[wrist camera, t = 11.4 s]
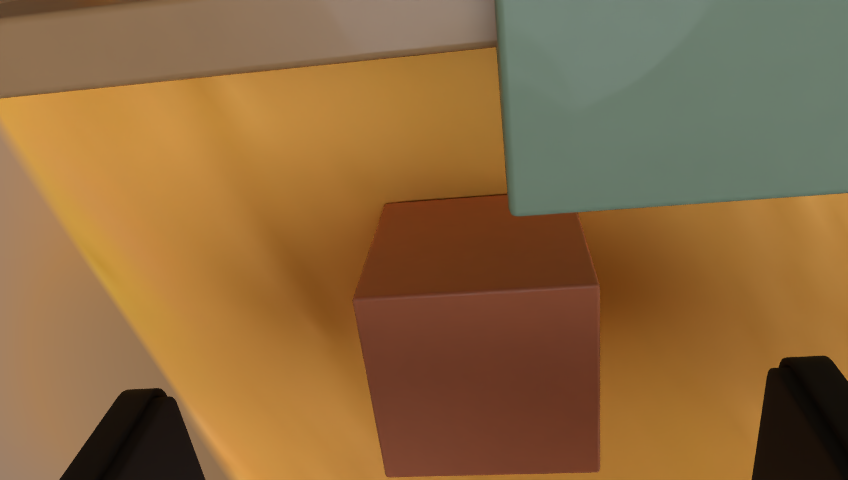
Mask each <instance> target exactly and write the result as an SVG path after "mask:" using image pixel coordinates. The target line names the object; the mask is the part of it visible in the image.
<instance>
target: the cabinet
mask: <svg viewBox="0 0 848 480" xmlns="http://www.w3.org/2000/svg"><path fill="white" fill-rule="evenodd" d="M494 1H495V16H496V31H497V46H498V47H496V51H497V64H498V77H499V90H500V103H501V116H502V129H503V142H504V155H505V169H506V181H507V195H508V208H509V211H510V213H511V215H513V216H532V215H546V214H560V213H574V212H588V211H602V210H616V209H630V208H644V207H658V206H672V205H686V204H700V203H714V202H728V201H742V200H756V199H770V198H784V197H798V196H812V195H826V194H840V193H848V0H494Z"/></svg>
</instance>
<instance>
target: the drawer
mask: <svg viewBox="0 0 848 480" xmlns="http://www.w3.org/2000/svg"><path fill="white" fill-rule="evenodd" d="M493 47H498V46H497V31H496V16H495V1H494V0H0V98H8V97H18V96H28V95H37V94H47V93H57V92H66V91H76V90H86V89H95V88H105V87H115V86H124V85H134V84H144V83H154V82H163V81H173V80H183V79H192V78H202V77H212V76H221V75H231V74H241V73H250V72H260V71H270V70H279V69H289V68H299V67H309V66H318V65H328V64H338V63H347V62H357V61H367V60H376V59H386V58H396V57H405V56H415V55H425V54H434V53H444V52H454V51H463V50H473V49H483V48H493Z"/></svg>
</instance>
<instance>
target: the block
mask: <svg viewBox="0 0 848 480" xmlns="http://www.w3.org/2000/svg"><path fill="white" fill-rule="evenodd" d="M352 301H353V306H354V311H355V316H356V322H357V327H358V332H359V337H360V343H361V348H362V353H363V359H364V364H365V369H366V374H367V380H368V385H369V390H370V395H371V401H372V406H373V411H374V416H375V422H376V427H377V432H378V438H379V443H380V448H381V453H382V459H383V464H384V469H385V474H386V476H387V477H420V476H463V475H505V474H548V473H591V472H599V470H600V285H599V281H598V278H597V275H596V271H595V268H594V265H593V261H592V258H591V255H590V252H589V248H588V245H587V242H586V238H585V235H584V232H583V228H582V225H581V222H580V218H579V215H578V212H574V213H560V214H546V215H532V216H513V215H511V213H510V211H509V208H508V195H496V196H483V197H469V198H456V199H443V200H430V201H416V202H403V203H390V204H385V205H384V208H383V211H382V214H381V217H380V220H379V223H378V226H377V229H376V232H375V235H374V238H373V241H372V244H371V247H370V250H369V253H368V256H367V258H366V261H365V264H364V267H363V270H362V273H361V276H360V279H359V282H358V285H357V288H356V291H355V294H354V297H353V300H352Z"/></svg>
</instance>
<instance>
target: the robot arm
mask: <svg viewBox="0 0 848 480" xmlns="http://www.w3.org/2000/svg"><path fill="white" fill-rule="evenodd" d="M60 480H205V477H204V475H203V472H202V469H201V467H200V464H199V461H198V459H197V456H196V453H195V451H194V448H193V445H192V443H191V440H190V437H189V434H188V432H187V429H186V426H185V424H184V421H183V418H182V416H181V413H180V410H179V407H178V405H177V402H176V401H175V399H174V398H173V397H167V395H166V393H165V392H164V391H163V390H162V389H159V388H154V389H132V390H125V391H123V392H122V393H121V394H120V395H119V396H118V397H117V399H116V400H115V402H114V403H113V405H112V406H111V407H110V409H109V410H108V412H107V413H106V414H105V416H104V417H103V419H102V420H101V422H100V423H99V425H98V426H97V427H96V429H95V430H94V432H93V433H92V434H91V436H90V437H89V439H88V440H87V441H86V443H85V444H84V446H83V447H82V448H81V450H80V451H79V453H78V454H77V456H76V457H75V459H74V460H73V461H72V463H71V464H70V465H69V467H68V468H67V470H66V471H65V473H64V474H63V475H62V477H61V478H60ZM752 480H848V381H847V380H846V378H845V377H844V376H843V374H842V373H841V372H840V370H839V369H838V368H837V366H836V365H835V364H834V362H833V361H832V360H831V359H830V358H829V357H826V356H807V357H786V358H783V359H782V361H781V362H780V365H779V368H771V369H770V370H769V371H768V375H767V380H766V387H765V394H764V401H763V407H762V414H761V421H760V428H759V434H758V441H757V448H756V455H755V461H754V468H753V475H752Z"/></svg>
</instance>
